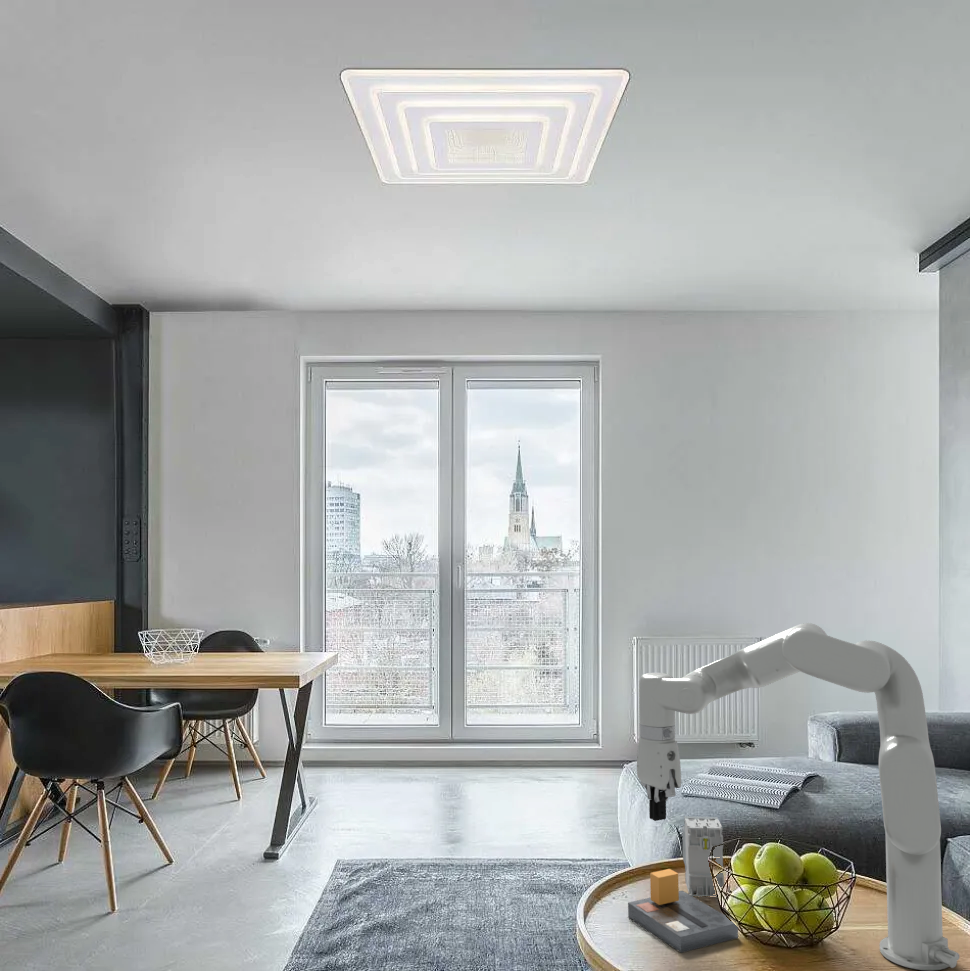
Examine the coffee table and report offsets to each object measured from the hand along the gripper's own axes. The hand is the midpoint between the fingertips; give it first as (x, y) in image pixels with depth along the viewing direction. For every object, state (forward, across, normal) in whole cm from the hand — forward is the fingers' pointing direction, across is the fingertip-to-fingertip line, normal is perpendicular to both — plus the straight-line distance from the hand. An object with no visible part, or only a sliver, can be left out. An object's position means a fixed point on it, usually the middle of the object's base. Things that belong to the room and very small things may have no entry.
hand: (657, 818), depth 198 cm
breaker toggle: (+16, -2, 0) cm, 17 cm away
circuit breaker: (+20, +8, -19) cm, 29 cm away
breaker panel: (+20, -8, 0) cm, 21 cm away
